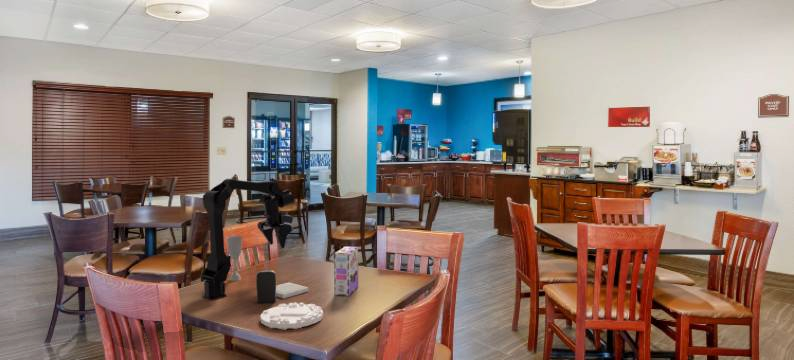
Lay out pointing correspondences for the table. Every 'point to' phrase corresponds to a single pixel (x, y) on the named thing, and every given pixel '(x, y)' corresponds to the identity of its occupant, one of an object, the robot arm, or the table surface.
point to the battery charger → (266, 286)
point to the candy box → (345, 271)
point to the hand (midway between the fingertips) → (277, 246)
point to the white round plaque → (291, 315)
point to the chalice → (234, 253)
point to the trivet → (290, 290)
